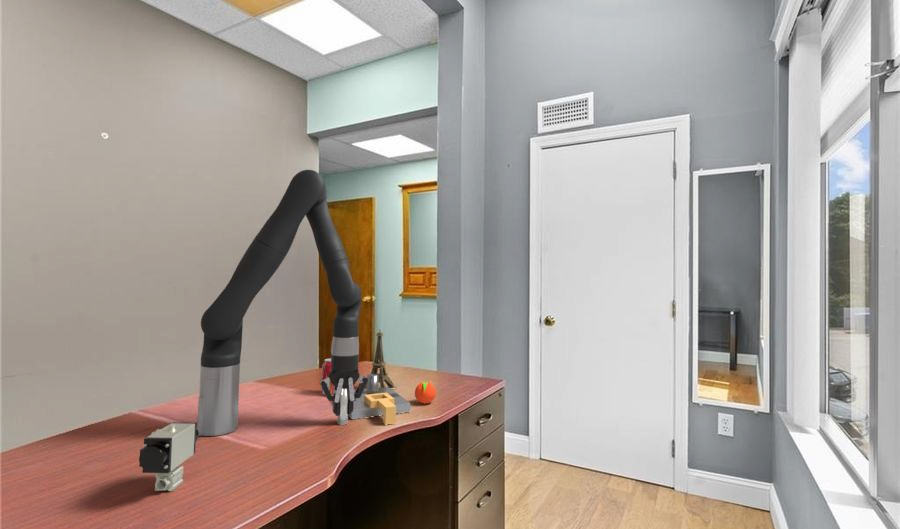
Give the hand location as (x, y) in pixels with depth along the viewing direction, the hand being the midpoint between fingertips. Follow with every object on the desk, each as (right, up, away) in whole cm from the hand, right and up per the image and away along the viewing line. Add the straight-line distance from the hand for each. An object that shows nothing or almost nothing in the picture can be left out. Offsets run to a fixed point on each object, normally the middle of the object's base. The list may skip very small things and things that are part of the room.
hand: (343, 414), depth 122 cm
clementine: (+22, -4, +21) cm, 31 cm away
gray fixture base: (+5, -3, +16) cm, 17 cm away
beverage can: (-11, -3, +29) cm, 31 cm away
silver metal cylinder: (0, -3, 0) cm, 3 cm away
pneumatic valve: (-25, -1, -38) cm, 45 cm away
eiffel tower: (+4, -4, +37) cm, 37 cm away
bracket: (+10, -3, +7) cm, 12 cm away
